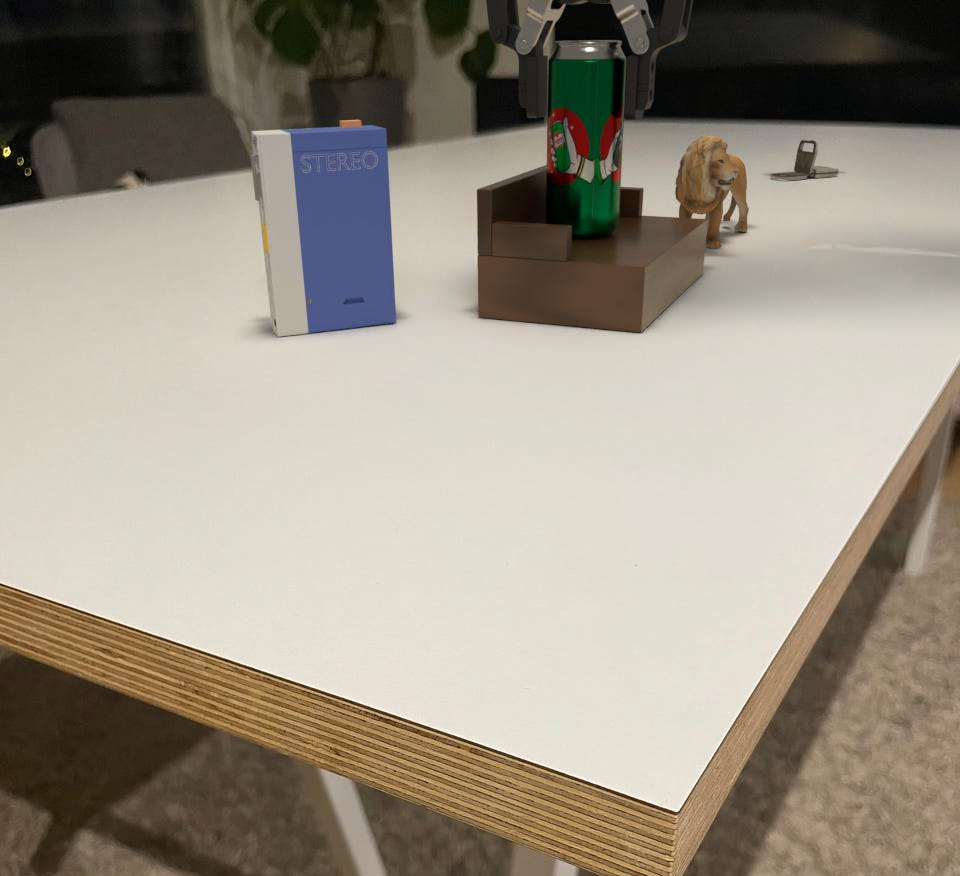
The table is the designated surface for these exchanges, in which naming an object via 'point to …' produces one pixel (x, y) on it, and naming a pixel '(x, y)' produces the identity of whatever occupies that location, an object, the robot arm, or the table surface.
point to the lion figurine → (711, 185)
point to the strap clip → (806, 165)
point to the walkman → (325, 226)
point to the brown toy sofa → (580, 260)
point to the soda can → (585, 136)
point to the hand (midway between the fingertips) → (584, 117)
